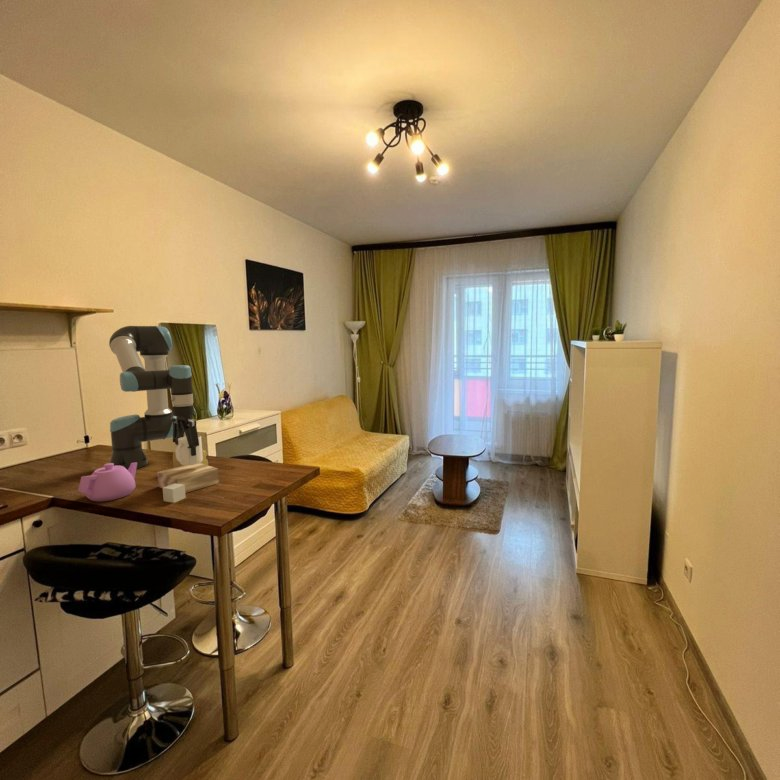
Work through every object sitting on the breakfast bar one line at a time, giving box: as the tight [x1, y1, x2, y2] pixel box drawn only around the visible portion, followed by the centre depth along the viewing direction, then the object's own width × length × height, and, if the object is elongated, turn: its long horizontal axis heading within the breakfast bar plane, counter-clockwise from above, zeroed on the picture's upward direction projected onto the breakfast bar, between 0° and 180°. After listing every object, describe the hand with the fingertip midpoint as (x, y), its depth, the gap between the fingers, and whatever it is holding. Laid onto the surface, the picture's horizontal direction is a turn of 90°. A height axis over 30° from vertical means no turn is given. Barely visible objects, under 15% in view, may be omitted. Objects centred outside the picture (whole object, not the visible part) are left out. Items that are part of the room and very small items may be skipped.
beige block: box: [162, 483, 187, 504], centre depth 147 cm, size 5×5×5 cm
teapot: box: [77, 462, 138, 502], centre depth 153 cm, size 22×16×12 cm
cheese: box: [172, 448, 209, 468], centre depth 182 cm, size 10×11×10 cm
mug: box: [175, 435, 203, 465], centre depth 161 cm, size 12×8×10 cm
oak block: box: [156, 463, 220, 494], centre depth 163 cm, size 16×16×6 cm
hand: (187, 461), depth 162 cm, fingers closed on mug, 8 cm apart
